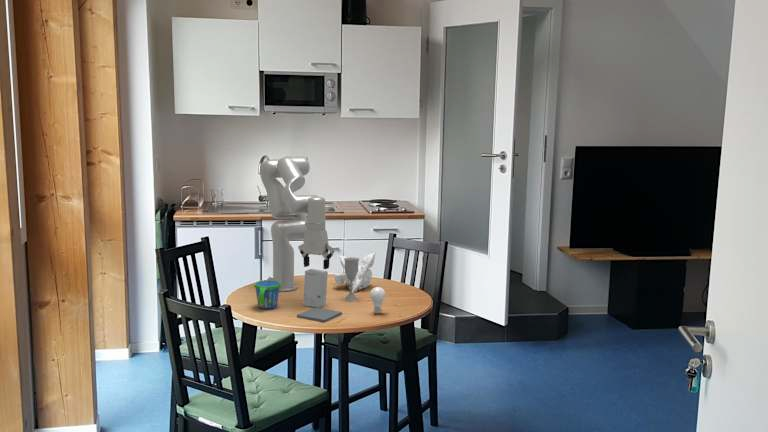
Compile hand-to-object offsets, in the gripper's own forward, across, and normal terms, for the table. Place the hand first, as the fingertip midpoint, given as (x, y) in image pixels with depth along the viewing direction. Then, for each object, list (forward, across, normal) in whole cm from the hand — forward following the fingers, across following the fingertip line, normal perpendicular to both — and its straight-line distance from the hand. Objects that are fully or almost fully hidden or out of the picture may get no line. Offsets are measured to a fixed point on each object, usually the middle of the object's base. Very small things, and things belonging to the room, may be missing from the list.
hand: (316, 267), depth 276 cm
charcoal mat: (+17, +9, -12) cm, 22 cm away
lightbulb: (+17, +27, +4) cm, 32 cm away
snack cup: (+16, -16, -12) cm, 26 cm away
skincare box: (+16, -1, 0) cm, 17 cm away
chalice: (+16, +7, +16) cm, 24 cm away
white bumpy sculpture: (+16, -2, +36) cm, 39 cm away
